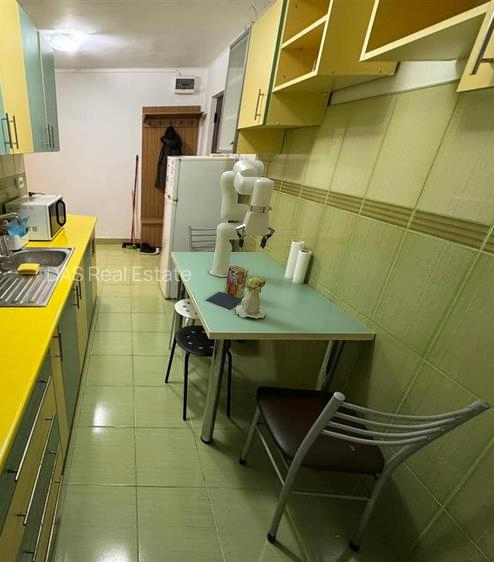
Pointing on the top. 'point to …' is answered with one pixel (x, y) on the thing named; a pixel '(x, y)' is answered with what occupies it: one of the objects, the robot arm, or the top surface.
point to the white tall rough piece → (252, 299)
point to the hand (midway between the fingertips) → (251, 247)
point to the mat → (224, 300)
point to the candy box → (236, 281)
